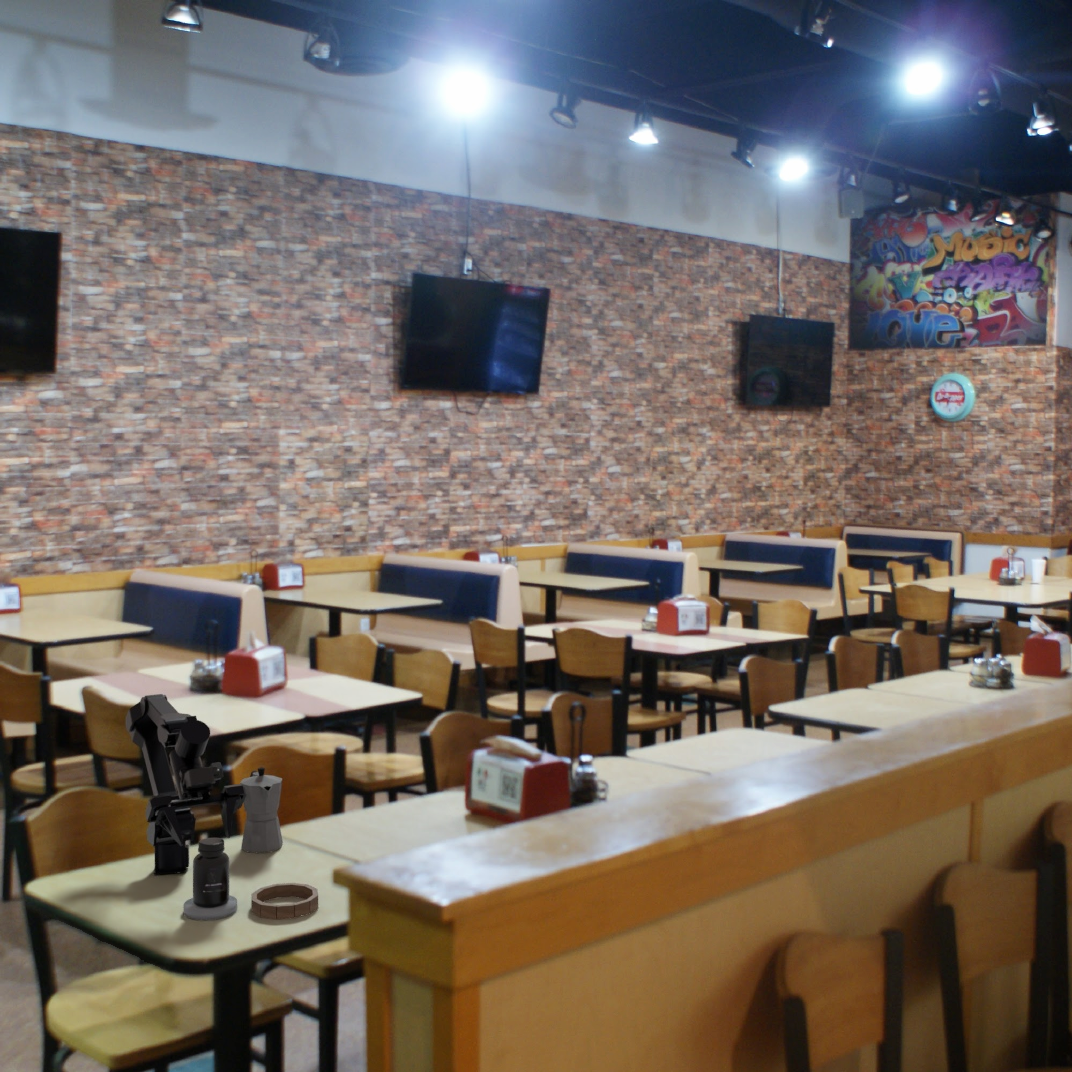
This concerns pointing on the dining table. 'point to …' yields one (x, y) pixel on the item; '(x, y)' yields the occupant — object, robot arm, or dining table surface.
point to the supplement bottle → (211, 874)
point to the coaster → (209, 910)
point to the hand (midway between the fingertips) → (205, 841)
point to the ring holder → (284, 909)
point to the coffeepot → (262, 812)
